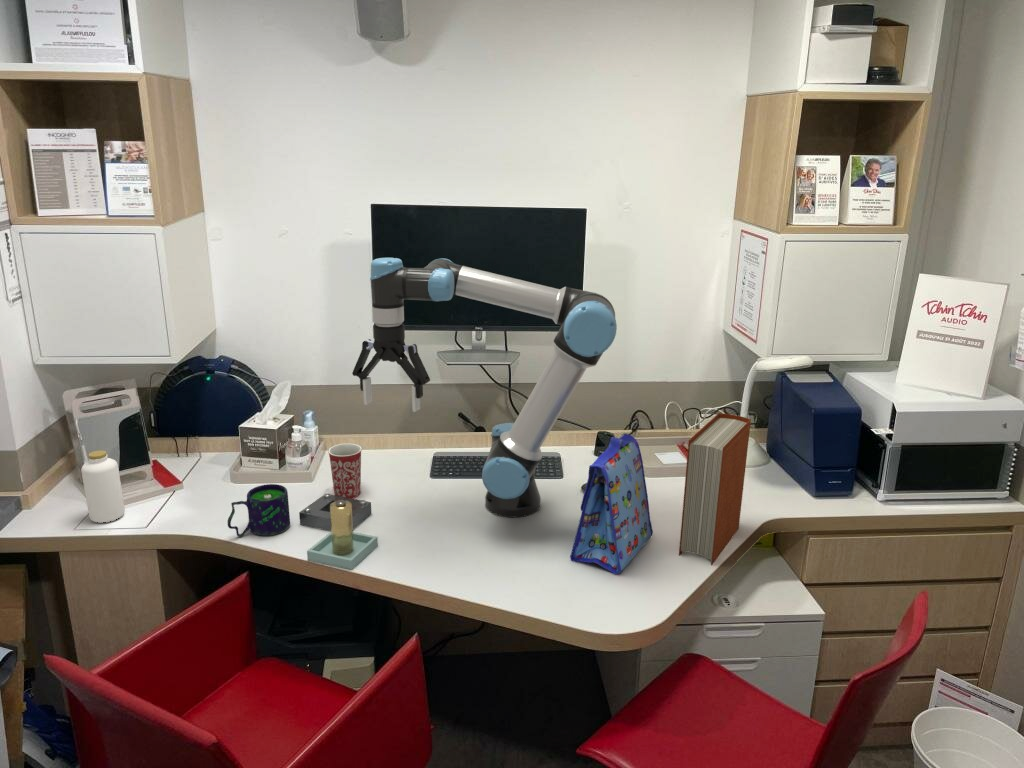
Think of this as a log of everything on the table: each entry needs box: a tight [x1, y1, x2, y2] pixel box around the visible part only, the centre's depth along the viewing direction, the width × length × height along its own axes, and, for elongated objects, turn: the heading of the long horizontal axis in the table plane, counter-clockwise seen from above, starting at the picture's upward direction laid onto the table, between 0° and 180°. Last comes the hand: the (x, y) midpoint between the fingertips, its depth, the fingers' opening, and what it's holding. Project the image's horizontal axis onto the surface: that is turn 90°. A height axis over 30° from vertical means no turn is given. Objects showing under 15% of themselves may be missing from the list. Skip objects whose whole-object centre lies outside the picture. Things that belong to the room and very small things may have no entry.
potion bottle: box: [81, 450, 126, 524], centre depth 199 cm, size 8×8×18 cm
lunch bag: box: [569, 433, 654, 575], centre depth 185 cm, size 22×14×29 cm, turn 150°
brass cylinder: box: [330, 500, 354, 556], centre depth 184 cm, size 5×5×13 cm
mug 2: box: [328, 442, 363, 499], centre depth 216 cm, size 13×9×14 cm
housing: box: [298, 492, 372, 532], centre depth 201 cm, size 14×12×4 cm
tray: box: [306, 531, 379, 571], centre depth 186 cm, size 12×12×2 cm
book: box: [678, 413, 752, 566], centre depth 189 cm, size 23×8×30 cm, turn 148°
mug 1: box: [227, 483, 291, 538], centre depth 195 cm, size 15×10×10 cm, turn 118°
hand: (391, 406), depth 192 cm, fingers open, 13 cm apart
